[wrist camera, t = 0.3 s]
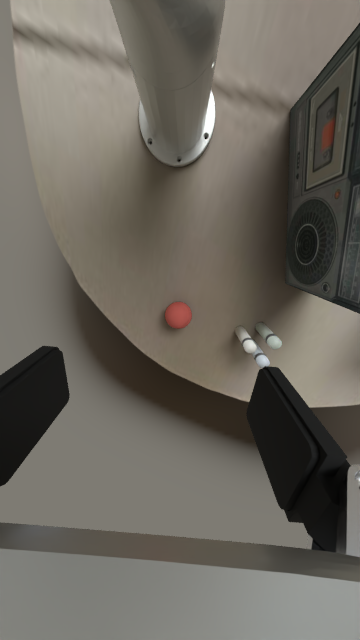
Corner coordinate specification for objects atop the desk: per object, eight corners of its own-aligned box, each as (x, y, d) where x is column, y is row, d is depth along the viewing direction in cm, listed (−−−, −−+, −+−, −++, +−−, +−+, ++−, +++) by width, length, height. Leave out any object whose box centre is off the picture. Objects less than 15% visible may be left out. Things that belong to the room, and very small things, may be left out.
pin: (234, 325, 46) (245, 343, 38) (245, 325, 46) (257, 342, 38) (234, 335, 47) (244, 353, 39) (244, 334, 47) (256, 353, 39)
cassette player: (290, 110, 31) (449, -90, 12) (334, 98, 30) (574, -131, 12) (285, 283, 42) (364, 315, 23) (317, 277, 41) (426, 306, 22)
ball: (165, 299, 44) (162, 307, 38) (190, 298, 43) (191, 306, 38) (167, 322, 46) (165, 333, 40) (191, 321, 46) (192, 332, 40)
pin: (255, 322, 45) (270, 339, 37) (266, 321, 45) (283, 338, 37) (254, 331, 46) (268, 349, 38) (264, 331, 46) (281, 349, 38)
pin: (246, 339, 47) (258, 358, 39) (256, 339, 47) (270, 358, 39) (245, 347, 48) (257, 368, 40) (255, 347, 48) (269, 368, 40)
